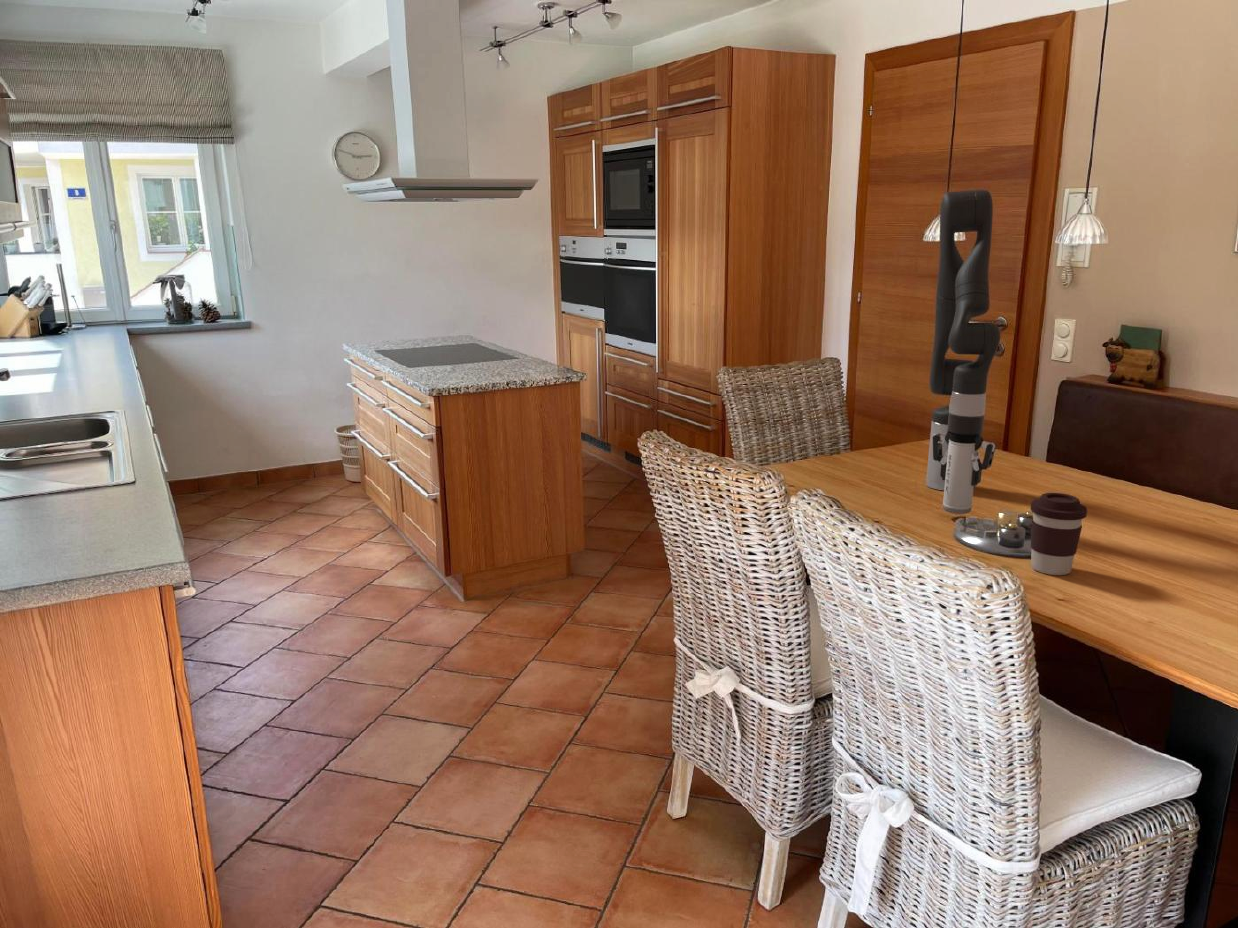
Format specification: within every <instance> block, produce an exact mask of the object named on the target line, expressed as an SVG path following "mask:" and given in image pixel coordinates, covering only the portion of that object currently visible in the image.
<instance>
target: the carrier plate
mask: <svg viewBox="0 0 1238 928" xmlns="http://www.w3.org/2000/svg"><path fill="white" fill-rule="evenodd" d="M1032 519H1033V512H1032V511H1031V510H1030V511H1026V512H1025V513H1024V512H1023V513H1018V512H1016V511H1013V510H1008V509H1002V510H998V511H997V518H996V519H994V518H988V517H984V518H983V519H979V517H977V516H966V517H965V520H964V517H962V518H961V517H960V518H958V519H955V524H954V528H953V538H954V539H955V540H956V541H957V542H958V543H960V544H961V545H963V546H965V547H967V548H970V549H972V550H975V551H979V552H981V553H985V554H989V555H995V556H999V557H1009V558H1019V559H1020V558H1022V559H1023V558H1027V559H1028V558H1030V559H1031V551H1032V548H1031V527H1032Z"/></svg>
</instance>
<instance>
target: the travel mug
mask: <svg viewBox="0 0 1238 928" xmlns="http://www.w3.org/2000/svg"><path fill="white" fill-rule="evenodd" d="M975 438H976V434H975V435H960V434H955V433H952V432H950V438H949V446H948V457H947V467H946V477H945V488H944V490H943V498H942V499H943V501H942V509H943V510H944V511H945V512H948V513H950V514H955V515H965V514H969V513H970V512H971V511H972V506H973V498H974V487H975V486H972V485H971V482H972V473H973V470H974V468H973V466H972V465H973V461H971V458H972V453H973V454H974V456H975V457H976V456H977V451H979V449H978V450H976V451H975V446H974V445H975Z"/></svg>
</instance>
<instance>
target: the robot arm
mask: <svg viewBox="0 0 1238 928" xmlns="http://www.w3.org/2000/svg"><path fill="white" fill-rule="evenodd" d="M993 205H994V204H993V198H992V193H990V191H988V190H987V189H986V190H985V189H974V190H973V189H970V190H969V189H968V190H958V191H957V190H956V191H948V192H945V193H944V194H943V196H942V199H941V203H940V210H939V261H938V263H939V264H938V273H937V283H936V293H935V294H936V295H935V317H934V318H935V319H934V321H935V323H934V337H933V347H932V354H931V355H932V356H931V363H930V369H929V370H930V371H929V389H930V392H931V394H934V395H939V396H950V400H949V405H945V406H941V407H940V406H939V407H937V408H935V409H933V411H932V415H931V426H930V427H931V428H930V437H929V447H928V448H929V449H928V460H927V468H926V480H925V485H926V486H927V487H928V488H931V489H934V490H940V491H944V488H945V477H946V467H947V457H948V446H949V438H950V432H952V433H955V434H960V435H975V434H976V438H975V445H974V446H975V451H976V450H978V451H977V456H976V457H975V456H974V454H973V453H972V458H971V461H973V465H972V466H973V468H974V470H973V473H972V482H971V485H972V486H974V487H976V486H978V484H980V483H981V482H982V474H983V473H982V472H983V470H988V469H989V468H991V467H992V464H993V460H994V455H995V451H996V447H997V443H996V442H994V441H993V442H988V441H985V440H984V439H983V432H984V423H985V414H986V413H985V412H986V406H987V405H986V404H987V403H986V402H987V400H986V399H987V398H986V397H987V396H986V395H987V394H986V393H987V383H988V375H989V371H990V368H991V365H992V363H993V360H994V357H995V356H996V353H997V351H998V348H999V346H1000V343H1001V338H1002V337H1001V331H1000V328H999V327H998V325H997V324H996V323H993V322H970V321H971V320H972V318H976V317H980V316H983V315H985V314H986V313H988V312H989V310H990V303H991V302H990V301H991V299H990V285H989V284H990V283H989V271H990V270H989V269H990V268H989V267H990V258H991V257H990V255H991V248H992V245H991V244H992V235H993V234H992V233H993V219H994V216H993V215H994V206H993ZM971 232H973V233H975V232H976V233H977V234H976V239H975V243H974V245H973V247H972V249H971V251H970V252H969V254H968V255H967V257H966V258H965V260H964V259H963V257H962V256H961V254H960V251H959V250H958V247H957V244H956V242H955V235H956V233H957V234H958V233H971ZM949 349H950V350H951V352H953V353H954V354H957V355H978V356H977V357H976V359H975V360H971V359H960V358H958V359H957V358H956V359H955V358H946V355H947V353H948V351H949ZM981 447H982V448H983V452H984V456H983V460H982V459H981V453H980V451H979V450H980V448H981Z"/></svg>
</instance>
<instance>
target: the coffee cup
mask: <svg viewBox="0 0 1238 928" xmlns="http://www.w3.org/2000/svg"><path fill="white" fill-rule="evenodd" d="M1030 511H1031V512H1033V519H1032V527H1031V548H1032V551H1031V558H1030V566H1031V568H1032V569H1033V570H1035V571H1037V572H1039V573H1041V574H1044V575H1048V576H1049V575H1051V576H1066V575H1068V574H1070V573H1071V571H1072V567H1073V564H1074V558H1075V555H1076V554H1077V552H1078V551H1077V550H1078V547H1079V541H1080V538H1081V532H1082V529H1083V525H1082V521H1083V520H1084V519H1085V518H1087V514H1088V508H1087V506H1086V505H1084V504H1082V503H1081V502H1080V499H1079V498H1078V497H1076V496H1075V495H1071V494H1068V493H1067V494H1066V493H1060V492H1045V493H1043V494H1041V495H1040V496H1039V498H1036V499H1033V500H1032V501H1031V502H1030Z"/></svg>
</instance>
